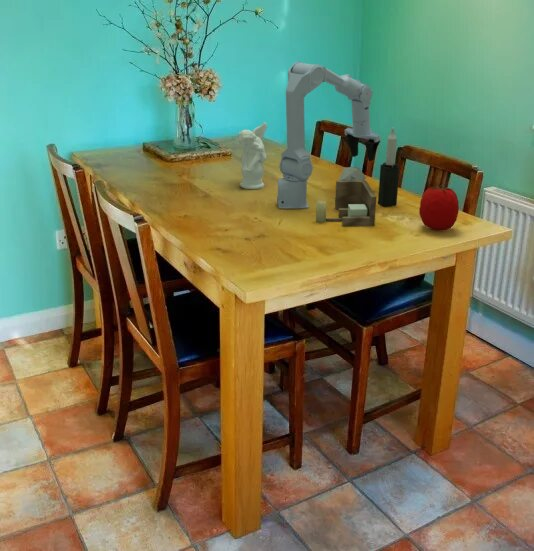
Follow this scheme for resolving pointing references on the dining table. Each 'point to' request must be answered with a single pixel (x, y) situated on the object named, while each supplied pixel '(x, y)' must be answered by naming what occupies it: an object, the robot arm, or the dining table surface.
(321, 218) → the pull block
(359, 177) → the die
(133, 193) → the dining table surface
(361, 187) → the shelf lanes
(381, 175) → the black and grey rod
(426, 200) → the red apple
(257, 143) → the cherub figurine
